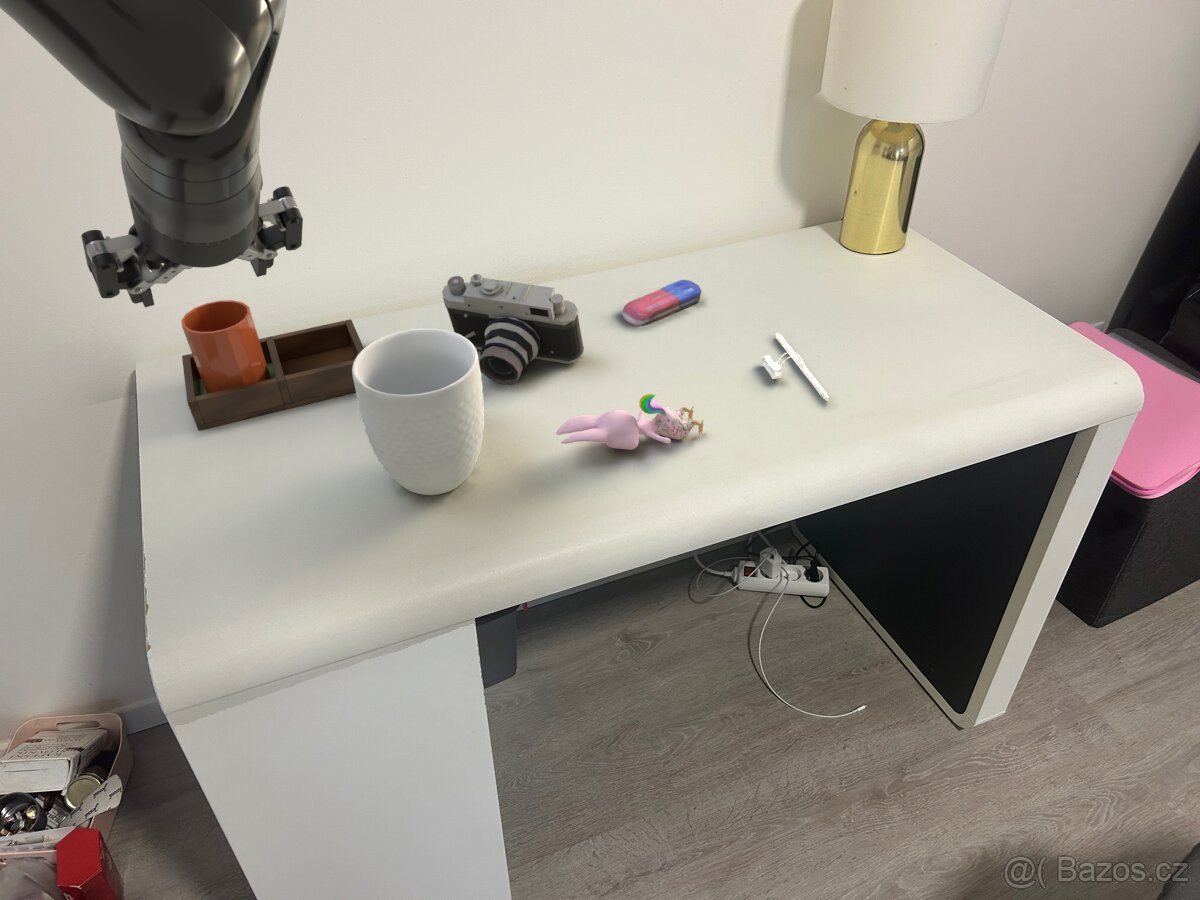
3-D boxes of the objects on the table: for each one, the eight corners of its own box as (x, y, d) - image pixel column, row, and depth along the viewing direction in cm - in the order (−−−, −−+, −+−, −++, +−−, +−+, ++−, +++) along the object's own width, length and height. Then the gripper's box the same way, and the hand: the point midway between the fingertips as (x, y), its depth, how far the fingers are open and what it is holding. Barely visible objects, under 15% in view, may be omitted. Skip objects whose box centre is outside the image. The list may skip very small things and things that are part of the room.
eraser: (637, 331, 103) (637, 319, 102) (616, 318, 105) (616, 305, 104) (705, 300, 108) (706, 288, 107) (684, 288, 110) (685, 276, 109)
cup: (211, 412, 89) (183, 338, 83) (206, 380, 93) (179, 308, 88) (276, 397, 91) (253, 324, 85) (267, 366, 95) (246, 295, 90)
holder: (198, 430, 88) (187, 402, 85) (192, 382, 94) (181, 355, 92) (375, 387, 93) (369, 359, 91) (357, 345, 100) (351, 318, 98)
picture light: (831, 402, 90) (834, 386, 89) (793, 408, 90) (795, 392, 88) (778, 335, 101) (780, 320, 100) (744, 340, 100) (746, 325, 99)
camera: (435, 381, 97) (412, 319, 89) (463, 327, 101) (443, 264, 93) (565, 403, 93) (553, 341, 85) (587, 346, 98) (578, 282, 90)
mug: (429, 408, 90) (411, 299, 82) (525, 428, 87) (516, 317, 79) (354, 498, 79) (325, 382, 71) (461, 523, 76) (442, 407, 68)
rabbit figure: (680, 421, 90) (547, 433, 85) (692, 373, 87) (553, 383, 81) (706, 456, 86) (566, 471, 80) (719, 407, 82) (574, 419, 77)
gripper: (284, 106, 55) (272, 214, 70) (41, 151, 49) (83, 260, 63) (330, 212, 55) (309, 298, 70) (92, 270, 49) (123, 351, 63)
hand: (201, 279), depth 66 cm, fingers open, 8 cm apart
